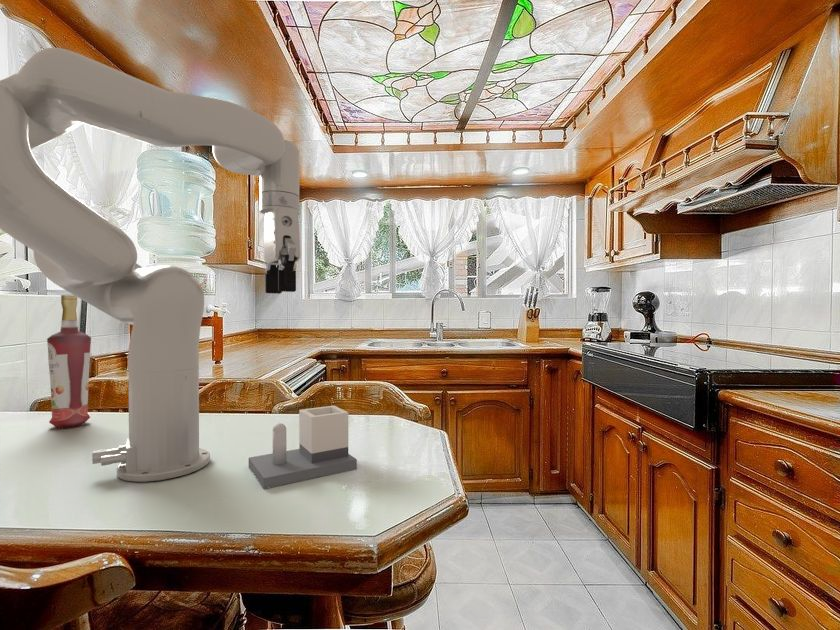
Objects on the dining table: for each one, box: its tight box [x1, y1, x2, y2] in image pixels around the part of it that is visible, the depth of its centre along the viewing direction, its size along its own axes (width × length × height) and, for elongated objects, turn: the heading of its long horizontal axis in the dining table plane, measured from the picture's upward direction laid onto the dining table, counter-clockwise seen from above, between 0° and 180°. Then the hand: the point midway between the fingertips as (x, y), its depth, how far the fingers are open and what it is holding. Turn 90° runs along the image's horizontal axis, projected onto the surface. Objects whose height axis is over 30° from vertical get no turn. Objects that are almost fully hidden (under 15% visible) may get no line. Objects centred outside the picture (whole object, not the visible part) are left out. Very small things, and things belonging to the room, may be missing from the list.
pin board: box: [248, 422, 358, 489], centre depth 68 cm, size 14×10×8 cm
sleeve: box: [298, 405, 349, 463], centre depth 70 cm, size 6×6×7 cm
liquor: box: [46, 294, 92, 429], centre depth 93 cm, size 7×7×28 cm
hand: (280, 292), depth 85 cm, fingers open, 9 cm apart
